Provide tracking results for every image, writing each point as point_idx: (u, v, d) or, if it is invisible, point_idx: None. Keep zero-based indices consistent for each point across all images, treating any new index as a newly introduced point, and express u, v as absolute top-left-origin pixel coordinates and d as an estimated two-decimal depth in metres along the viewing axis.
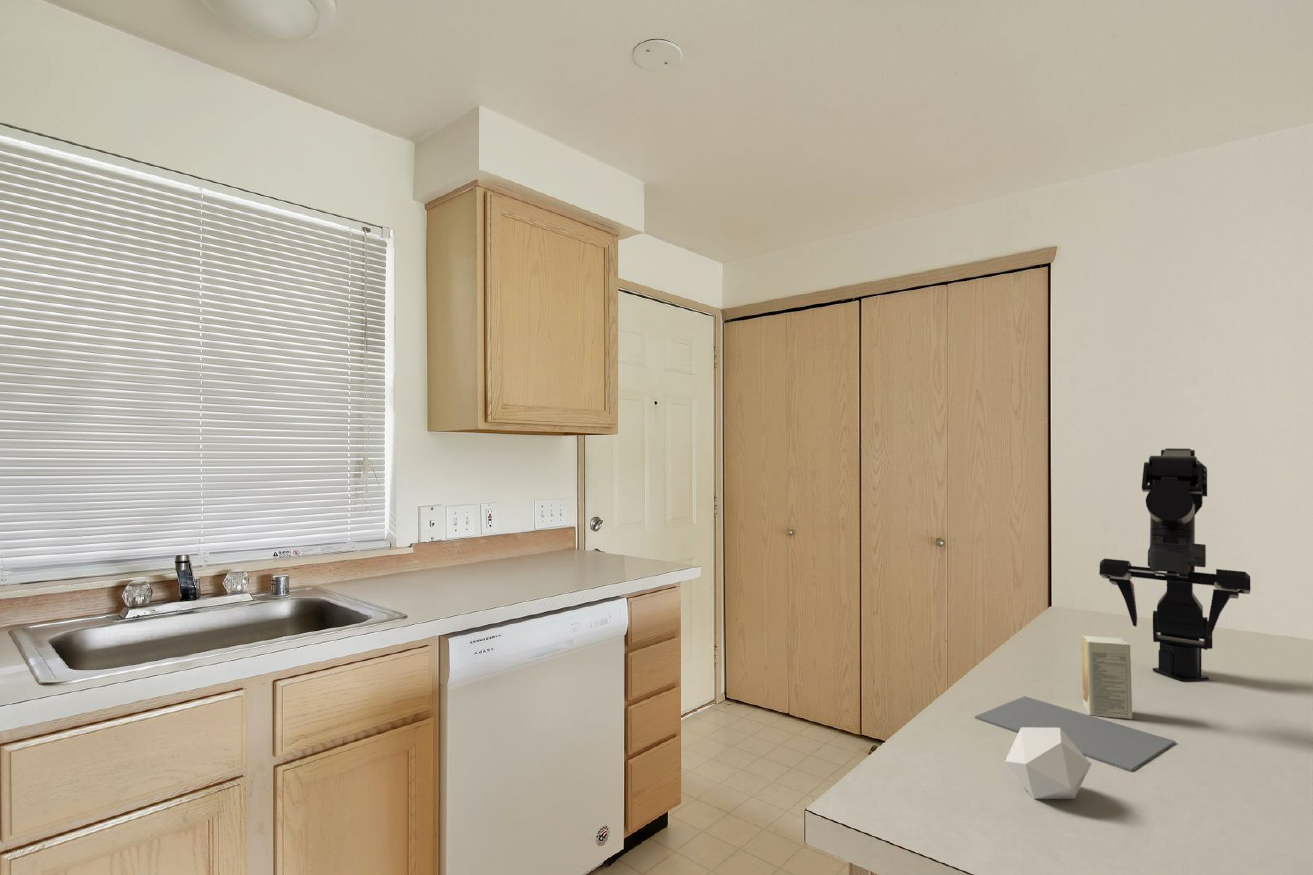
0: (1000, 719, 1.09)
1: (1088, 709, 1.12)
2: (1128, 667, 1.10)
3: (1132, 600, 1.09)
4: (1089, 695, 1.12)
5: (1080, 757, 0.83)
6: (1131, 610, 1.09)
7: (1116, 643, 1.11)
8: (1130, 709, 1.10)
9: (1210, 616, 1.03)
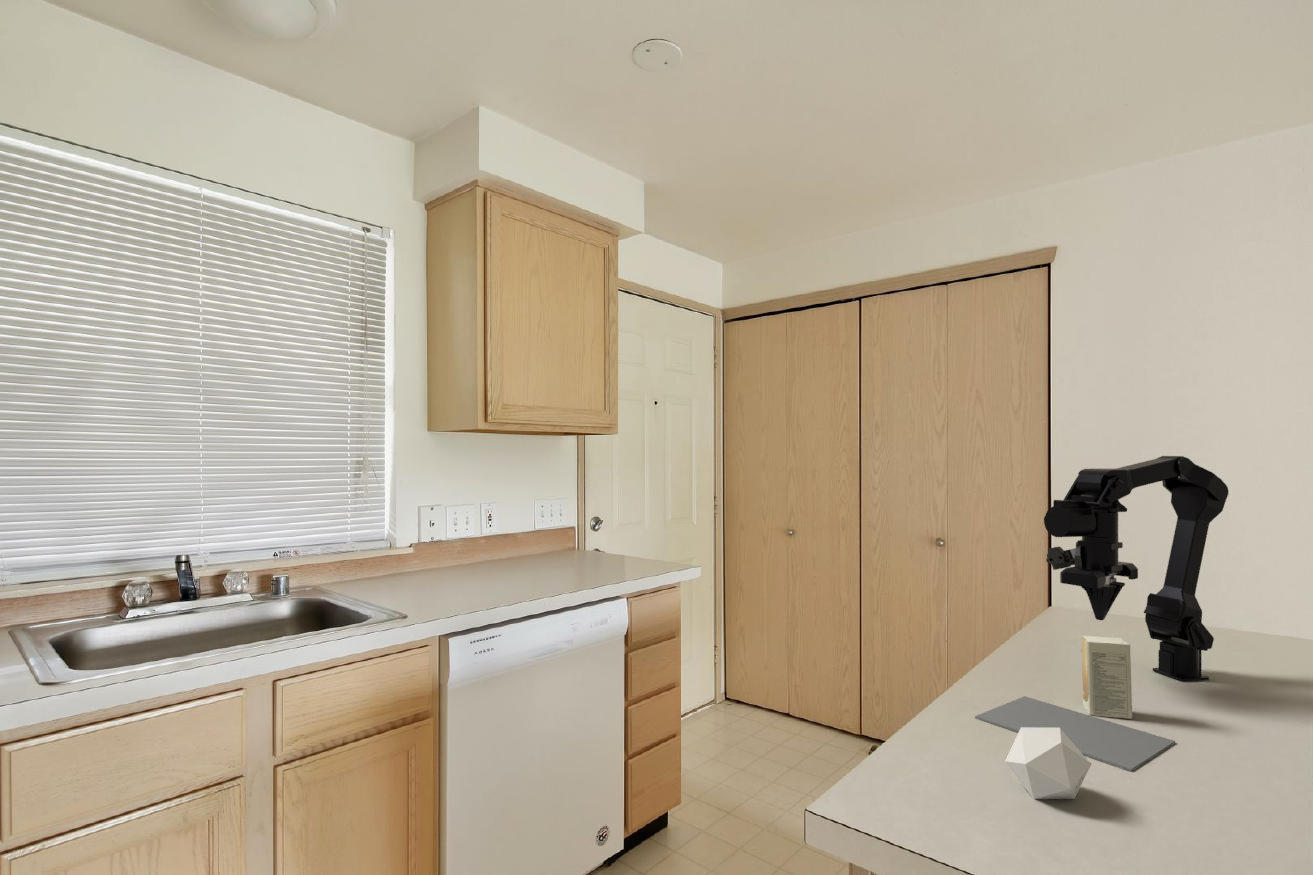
0: (1000, 719, 1.09)
1: (1088, 709, 1.12)
2: (1128, 667, 1.10)
3: None
4: (1089, 695, 1.12)
5: (1080, 757, 0.83)
6: None
7: (1116, 643, 1.11)
8: (1130, 709, 1.10)
9: None
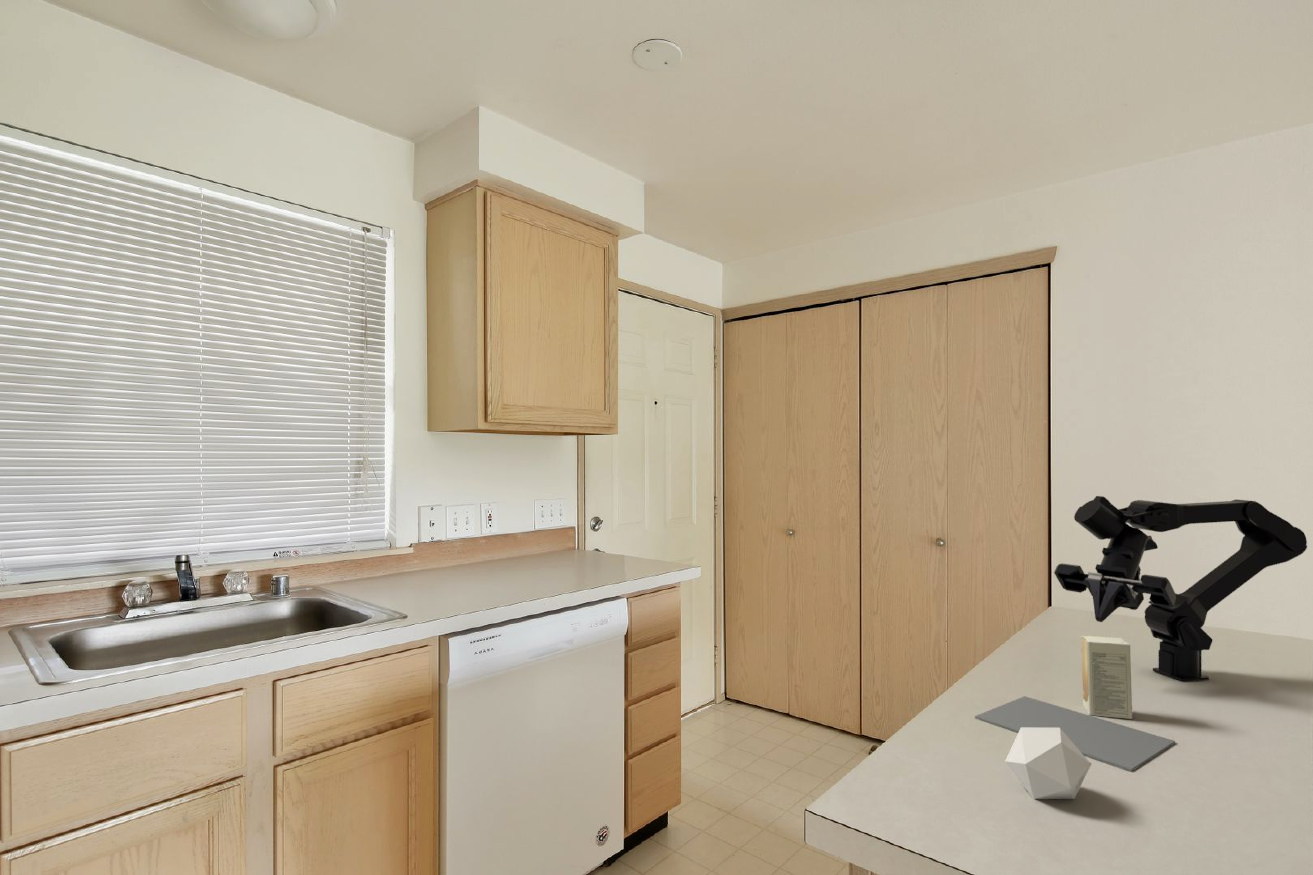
0: (1000, 719, 1.09)
1: (1088, 709, 1.12)
2: (1128, 667, 1.10)
3: None
4: (1089, 695, 1.12)
5: (1080, 757, 0.83)
6: None
7: (1116, 643, 1.11)
8: (1130, 709, 1.10)
9: None
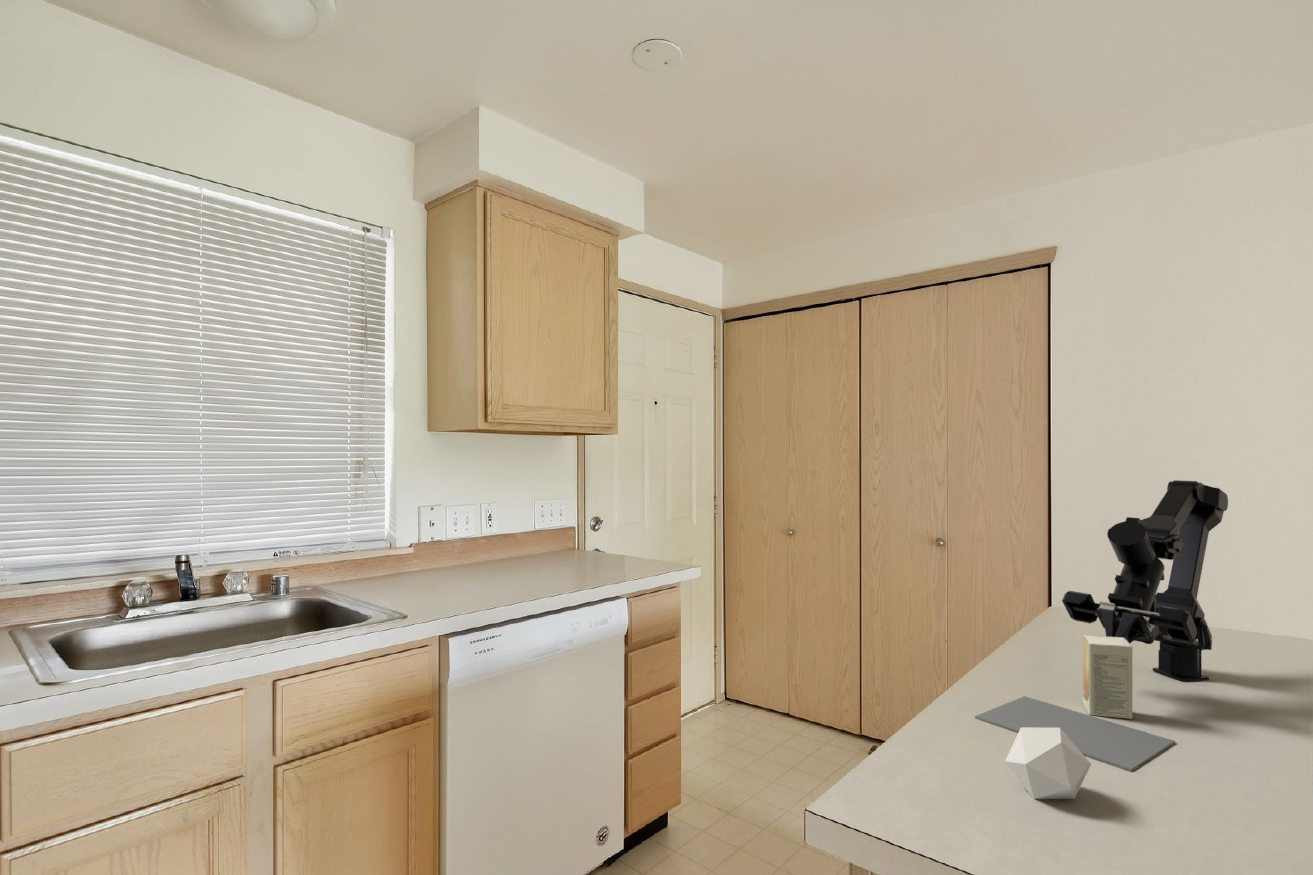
0: (1000, 719, 1.09)
1: (1088, 709, 1.12)
2: (1130, 668, 1.09)
3: None
4: (1089, 695, 1.12)
5: (1080, 757, 0.83)
6: None
7: (1118, 645, 1.10)
8: (1130, 709, 1.10)
9: None
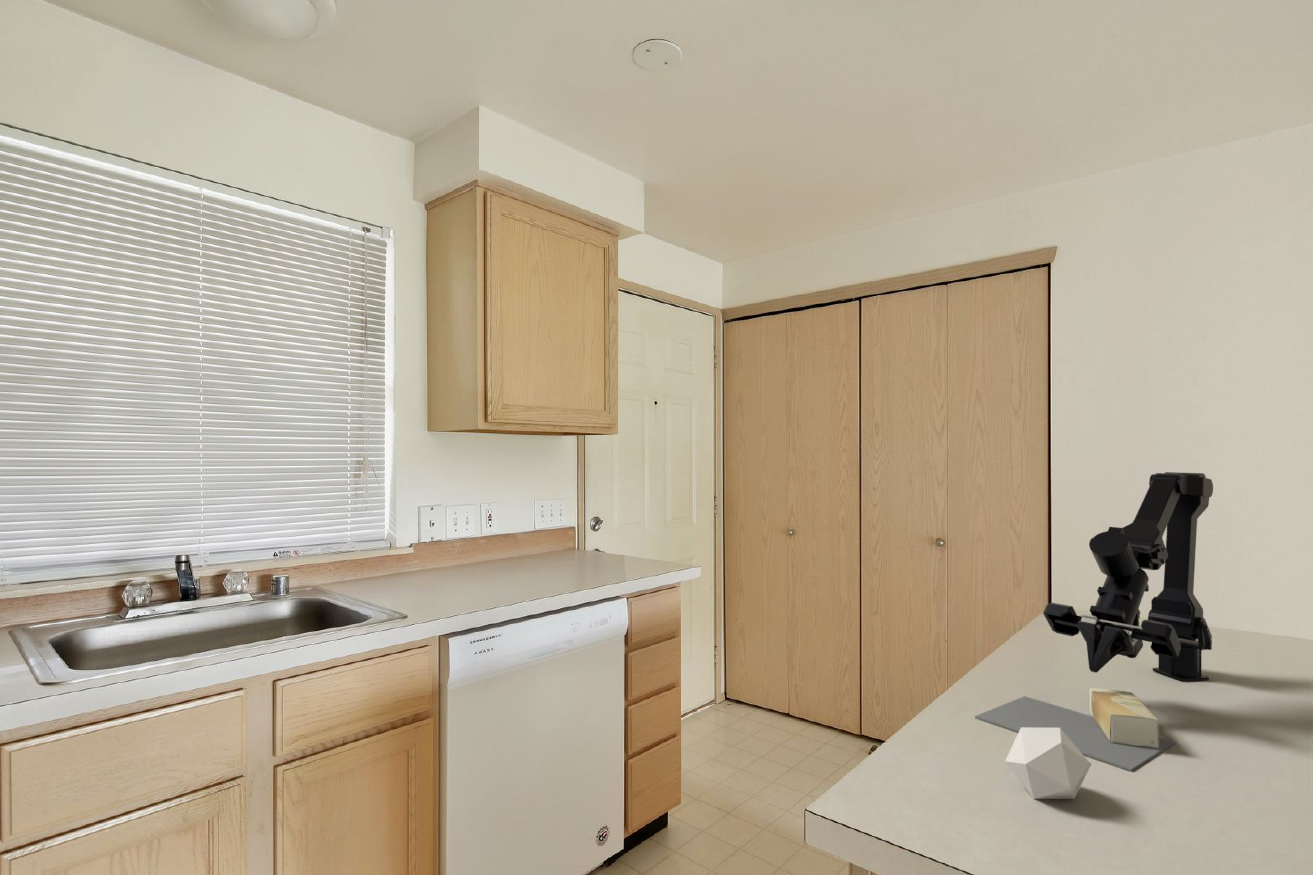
0: (1000, 719, 1.09)
1: (1090, 711, 1.11)
2: None
3: None
4: (1095, 719, 1.09)
5: (1080, 757, 0.83)
6: None
7: (1143, 744, 0.99)
8: None
9: None
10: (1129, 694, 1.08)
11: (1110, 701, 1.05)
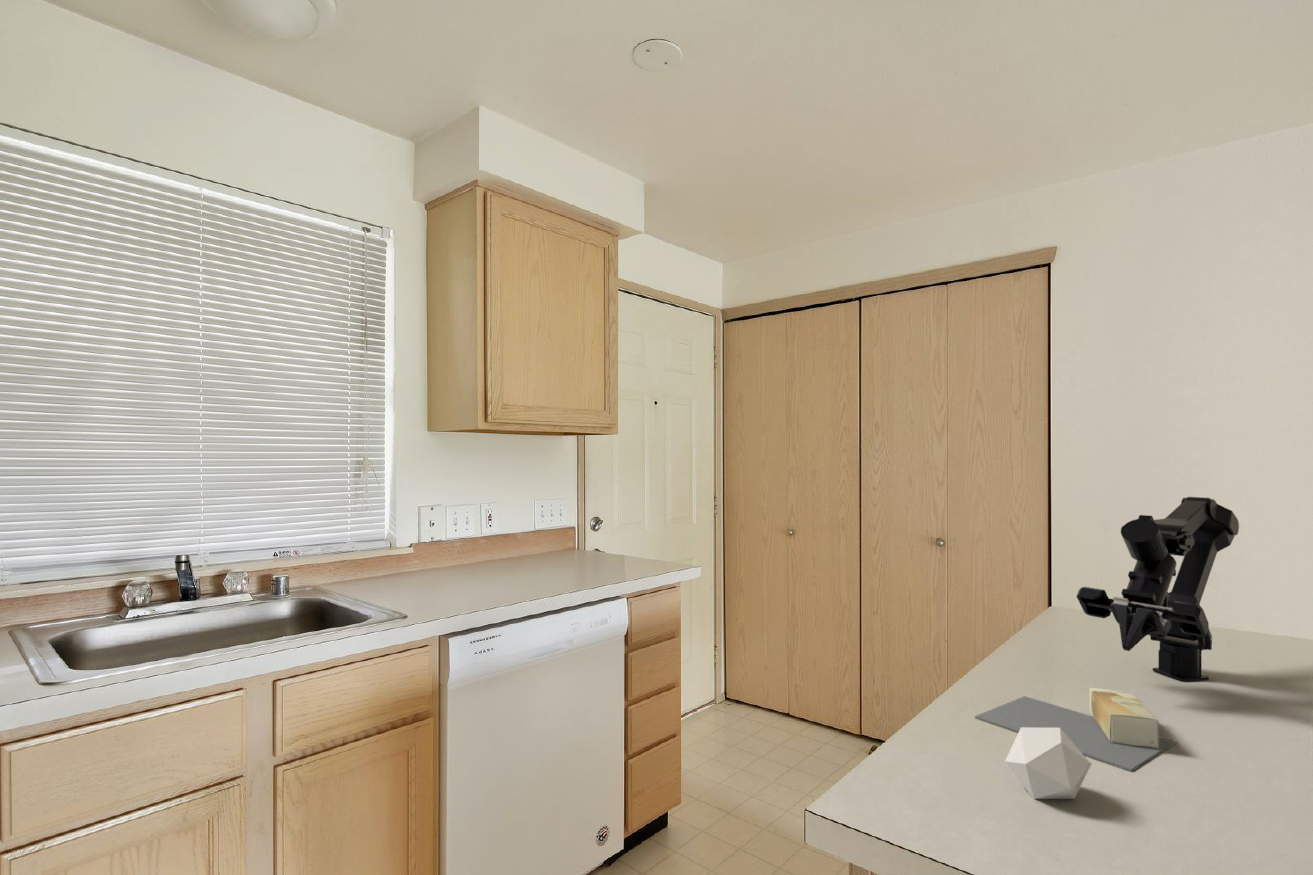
0: (1000, 719, 1.09)
1: (1090, 711, 1.11)
2: None
3: None
4: (1095, 719, 1.09)
5: (1080, 757, 0.83)
6: None
7: (1143, 744, 0.99)
8: None
9: None
10: (1129, 694, 1.08)
11: (1110, 701, 1.05)
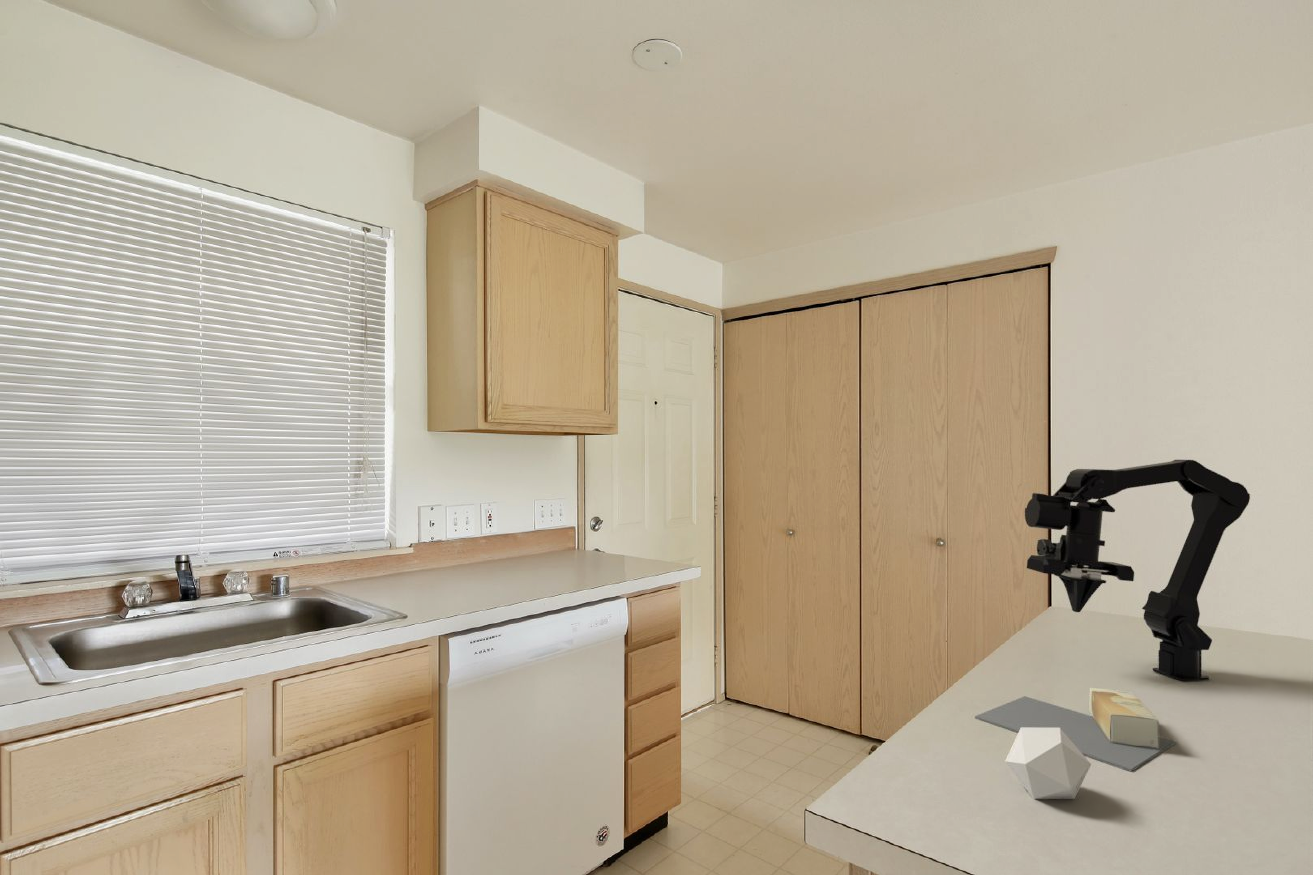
0: (1000, 719, 1.09)
1: (1090, 711, 1.11)
2: None
3: None
4: (1095, 719, 1.09)
5: (1080, 757, 0.83)
6: None
7: (1143, 744, 0.99)
8: None
9: None
10: (1129, 694, 1.08)
11: (1110, 701, 1.05)
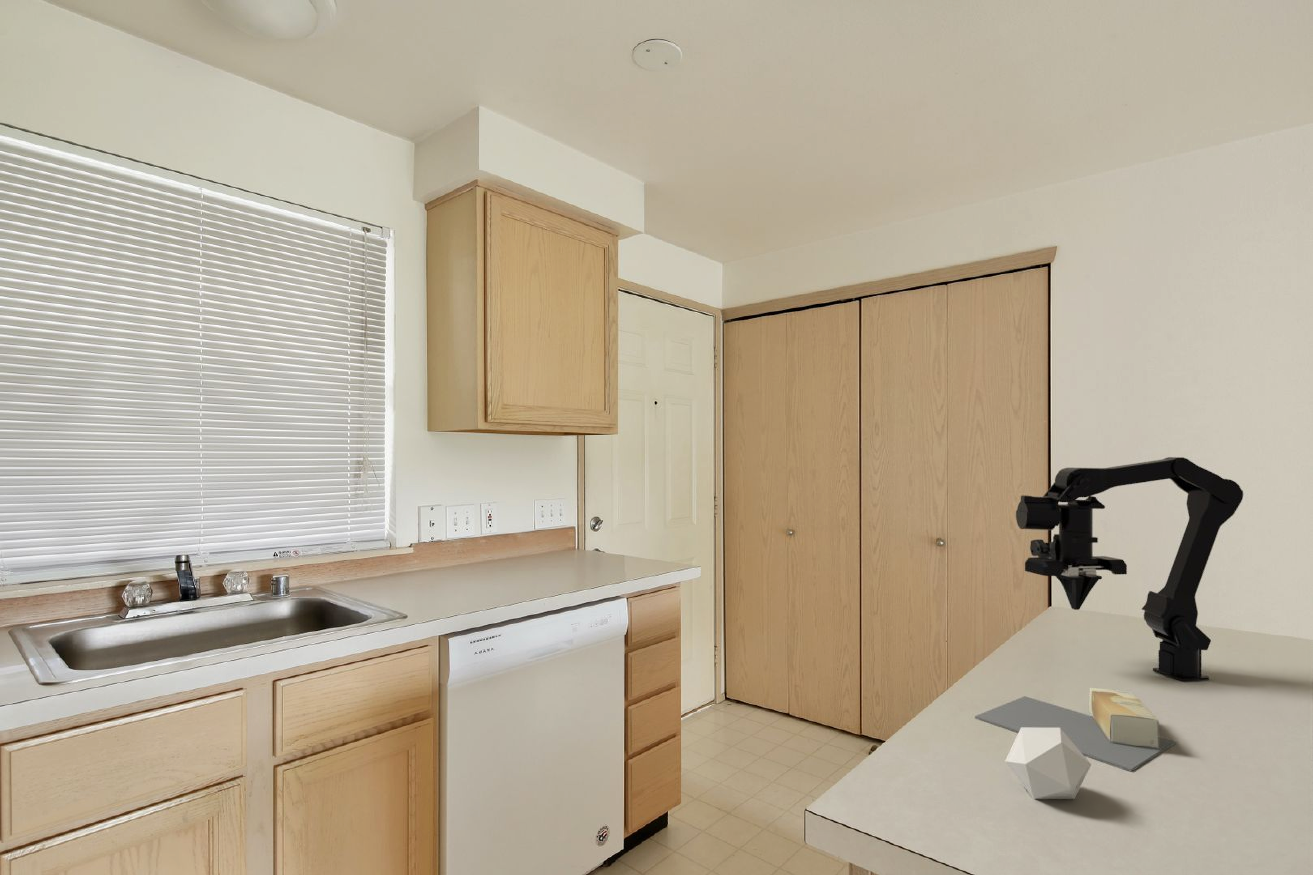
0: (1000, 719, 1.09)
1: (1090, 711, 1.11)
2: None
3: None
4: (1095, 719, 1.09)
5: (1080, 757, 0.83)
6: None
7: (1143, 744, 0.99)
8: None
9: None
10: (1129, 694, 1.08)
11: (1110, 701, 1.05)
